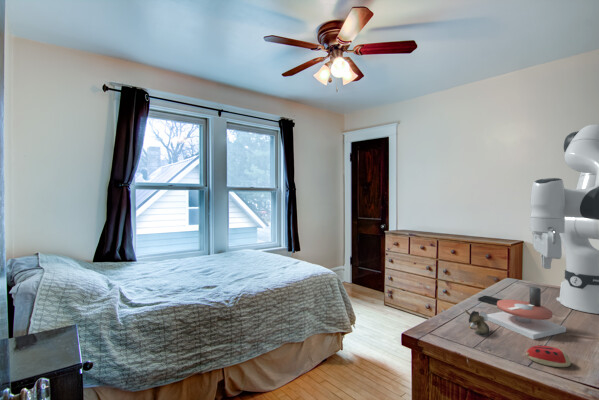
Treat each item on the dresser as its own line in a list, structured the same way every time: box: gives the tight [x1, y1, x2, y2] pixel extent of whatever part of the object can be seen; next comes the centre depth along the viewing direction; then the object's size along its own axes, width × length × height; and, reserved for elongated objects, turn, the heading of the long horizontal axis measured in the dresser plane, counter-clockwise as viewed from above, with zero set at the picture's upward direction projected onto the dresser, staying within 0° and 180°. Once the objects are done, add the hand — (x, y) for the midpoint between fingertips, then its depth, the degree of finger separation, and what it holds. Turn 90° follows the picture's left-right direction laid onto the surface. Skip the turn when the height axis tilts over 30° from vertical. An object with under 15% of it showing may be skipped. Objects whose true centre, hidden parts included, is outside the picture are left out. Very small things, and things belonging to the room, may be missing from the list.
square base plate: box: [486, 311, 567, 340], centre depth 99 cm, size 16×16×4 cm
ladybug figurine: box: [525, 344, 571, 368], centre depth 77 cm, size 7×10×4 cm
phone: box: [477, 295, 503, 307], centre depth 119 cm, size 8×1×15 cm
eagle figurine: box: [465, 309, 491, 337], centre depth 95 cm, size 8×7×9 cm
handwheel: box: [496, 286, 553, 321], centre depth 99 cm, size 15×15×7 cm
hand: (546, 268), depth 96 cm, fingers closed
